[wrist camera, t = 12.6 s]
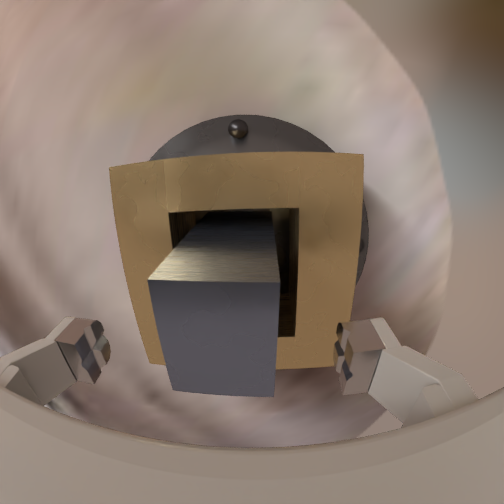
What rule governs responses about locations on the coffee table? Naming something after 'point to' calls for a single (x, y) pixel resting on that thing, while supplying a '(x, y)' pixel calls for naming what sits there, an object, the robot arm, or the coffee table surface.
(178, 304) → the grey rectangular block
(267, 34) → the coffee table surface
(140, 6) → the coffee table surface
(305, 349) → the rosette plate
